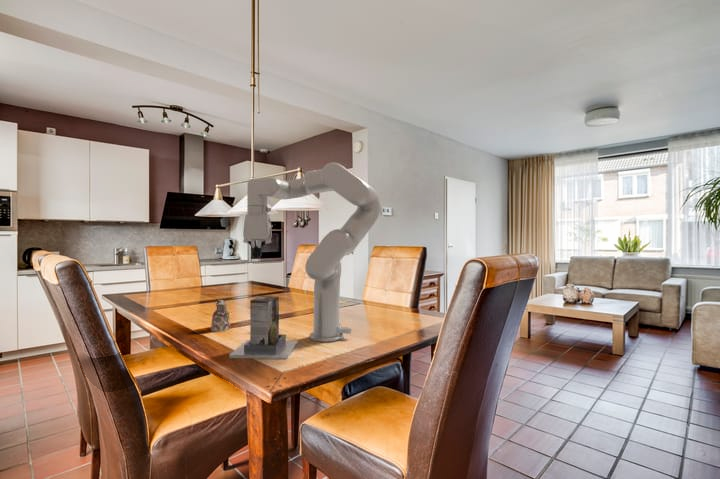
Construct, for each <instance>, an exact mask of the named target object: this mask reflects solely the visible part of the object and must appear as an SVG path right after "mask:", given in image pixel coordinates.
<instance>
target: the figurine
mask: <svg viewBox="0 0 720 479" xmlns="http://www.w3.org/2000/svg"><path fill="white" fill-rule="evenodd" d="M215 307H216V310H215V311H214V312H213V313H212V316H211V317H212V318H211V324H210V325H211V326H210V332H215V333H216V332H218V333H219V332H220V333H221V332H227V331H230V329H231V322H230V312H229V311H228V310H227V302H226V301H225V300H223V299H220V298H218V299H217V301H216V304H215Z"/></svg>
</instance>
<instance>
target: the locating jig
mask: <svg viewBox="0 0 720 479" xmlns="http://www.w3.org/2000/svg"><path fill="white" fill-rule="evenodd" d="M298 344H299V340H287V335H286V334H280V333H279V339H278V341H277V342H276V343H275V344H274V345H257V344H250V339H247V340H245V341H244V342H243V343H242V344H240V345H239V346H238V347H237V348H235V350H233V351H232V352H230V353H229V356H228V358H229V359H264V360H265V359H275V360H277V359H280V360H288V359H289V358H290V357H291V355H292V353H293V352H294V350H295V349H296V348H297V346H298Z"/></svg>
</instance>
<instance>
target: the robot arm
mask: <svg viewBox="0 0 720 479" xmlns="http://www.w3.org/2000/svg"><path fill="white" fill-rule="evenodd" d="M246 188H247V194H246V195H247V198H246V200H247V202H246V204H247V206H246V207H247V209H246V210H247V214H245V217H244V222H243V230H242V231H243V232H242V233H243V234H242V235H243V240H242V242H243V243H245V244H248V245H250V247H251V248H252V256H253V258H254V259H261V257H262V252H263V250H262V248H263V247H264V246H265V245H266V244H270V243H272V231H273V230H272V222H271V216H270V214H268V213H269V212H272V207H268V198H274V199H278V200H291V199H298V198H303V197H307V196H310V195H314V194H321V193H326V192H327V193H329V192H335V193H337V195H339V196H340V197H342V198H343V199H344V200H346V201H347V202H348V203H350V204H351V205H354V206H356V207H357V208H356V210H355V211H354V212H353V214H351V215H350V216H349V218H348V219H347V220H346V222H345V223H344V224H343V226H342V227H341V228H337V229H336V228H335V229H333V230H331V231H329V232H328V233H327V234H325V236H324V237H323V238H322V239H321V241H319V243H318V245H317V246H316V247H315V249H314V250H312V252H311V254H310V255H309V256H308V258H307V259H306V261H305V265H304V267H305V273H306V274H307V276H308V277H309V278H310V279H312V280H314V286H313V332H310V333H309V339H310V340H311V341H316V342H321V343H322V342H325V343H327V342H328V343H330V342H336V341H340V340H342V339H343V338H344V334H352V328H351V327H348V326H345V327H343V326H341V325H342V324H341V323H340V296H341V295H340V292H341V291H340V288H341V274H342V262H341V261H342V259H343V258H344V257H345V256H346V257H347V256H349V255H351V254H352V253H353V252H354V251H355V250H356V249H357V247H358V246H359V245H360V243H361V242H362V240H363V239H364V238H365V237H366V235H367V234H368V233H369V231H370V230H371V229H372V227H373V226H374V224H375V223H376V221H377V220H378V218H379V216H380V213H381V212H380V211H381V200H380V198H379V195H378V193H377V191H376V190H375V189H374V187H372V186H371V185H369V184H368V183H366V181H363V180H362V179H360V178H359V177H358V176H356V175H355V174H353V173H352V172H350V171H349V170H348V169H347V168H346V167H345V166H343V165H342V164H340V163H338V162H329V163H327V164H325V165H324V166H323V167H322V168H321V169H314V170H309V171H306V172H305V173H304V176H302V177H300V178H297V179H291V180H290V179H289V180H283V179H281V178H277V177H275V176H268V177H265V178H250V179H249V180H248V181H247V187H246Z"/></svg>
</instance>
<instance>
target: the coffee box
mask: <svg viewBox="0 0 720 479" xmlns="http://www.w3.org/2000/svg"><path fill="white" fill-rule="evenodd" d="M249 304H250V313H249V314H250V316H249V317H250V319H249V320H250V324H249V325H250V330H249V332H250V333H249V334H250V337H249V340H250V344H257V345H274V344H275V343H276V342H277V341H278V339H279V334H280V328H279V327H280V324H279V323H280V321H279V320H280V318H279V317H280V314H279V313H280V310H279V309H280V308H279V306H280V305H279V304H280V299H279V296H271V295H270V296H269V295H261V296H259V297H256V298H253V299H252V300H250V303H249Z"/></svg>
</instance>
